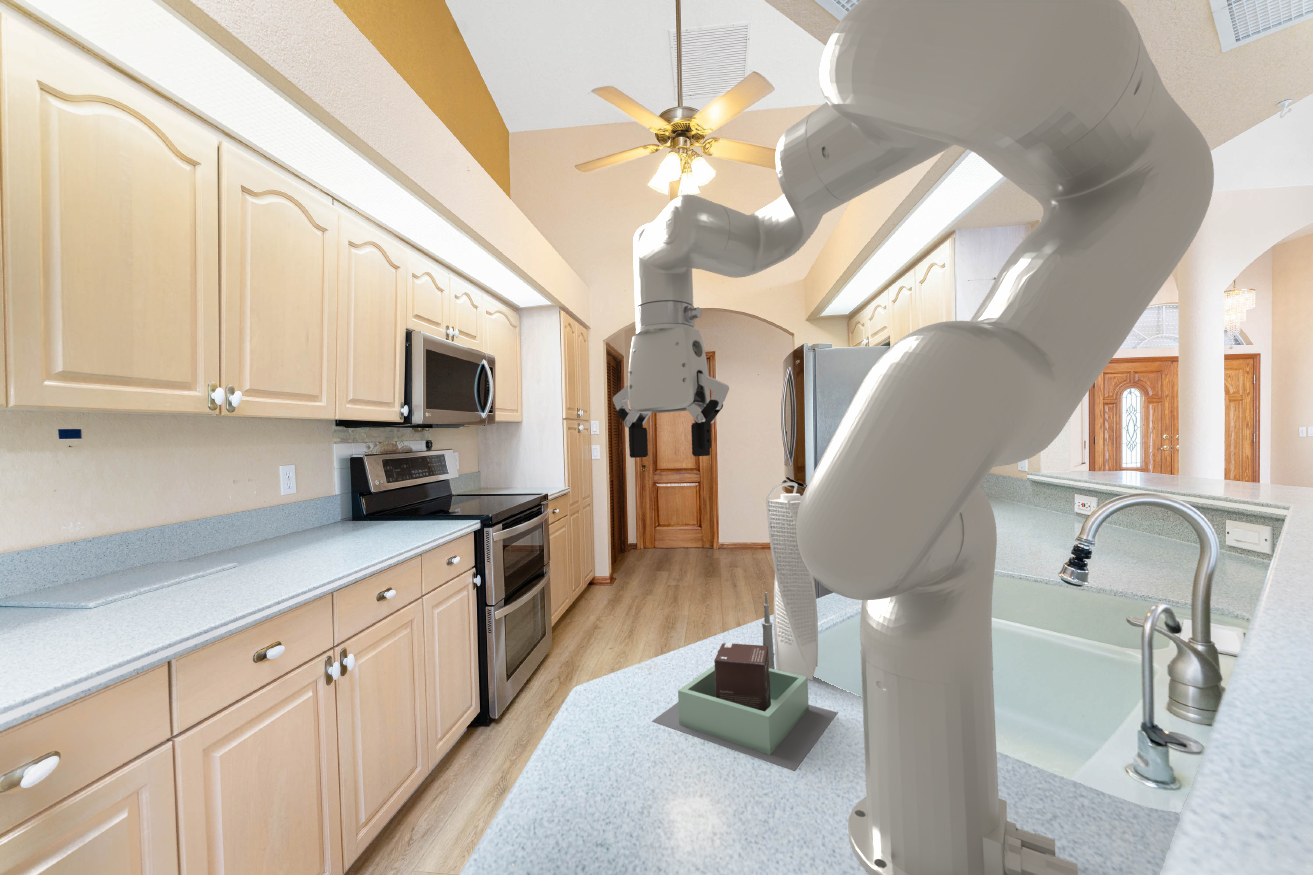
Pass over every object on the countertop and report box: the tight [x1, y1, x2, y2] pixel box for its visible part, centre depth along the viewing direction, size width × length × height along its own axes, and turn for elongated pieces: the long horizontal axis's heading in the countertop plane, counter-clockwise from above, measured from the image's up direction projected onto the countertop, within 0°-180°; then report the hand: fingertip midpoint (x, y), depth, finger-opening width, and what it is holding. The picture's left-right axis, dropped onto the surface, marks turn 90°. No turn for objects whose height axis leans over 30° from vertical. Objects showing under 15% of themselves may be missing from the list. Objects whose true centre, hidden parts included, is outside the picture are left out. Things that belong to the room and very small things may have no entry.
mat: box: [651, 701, 839, 772], centre depth 64 cm, size 18×14×1 cm
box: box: [713, 642, 771, 712], centre depth 64 cm, size 6×6×7 cm
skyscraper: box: [761, 481, 819, 681], centre depth 77 cm, size 8×8×28 cm
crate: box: [677, 664, 810, 755], centre depth 64 cm, size 12×12×4 cm
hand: (668, 456), depth 67 cm, fingers open, 9 cm apart
